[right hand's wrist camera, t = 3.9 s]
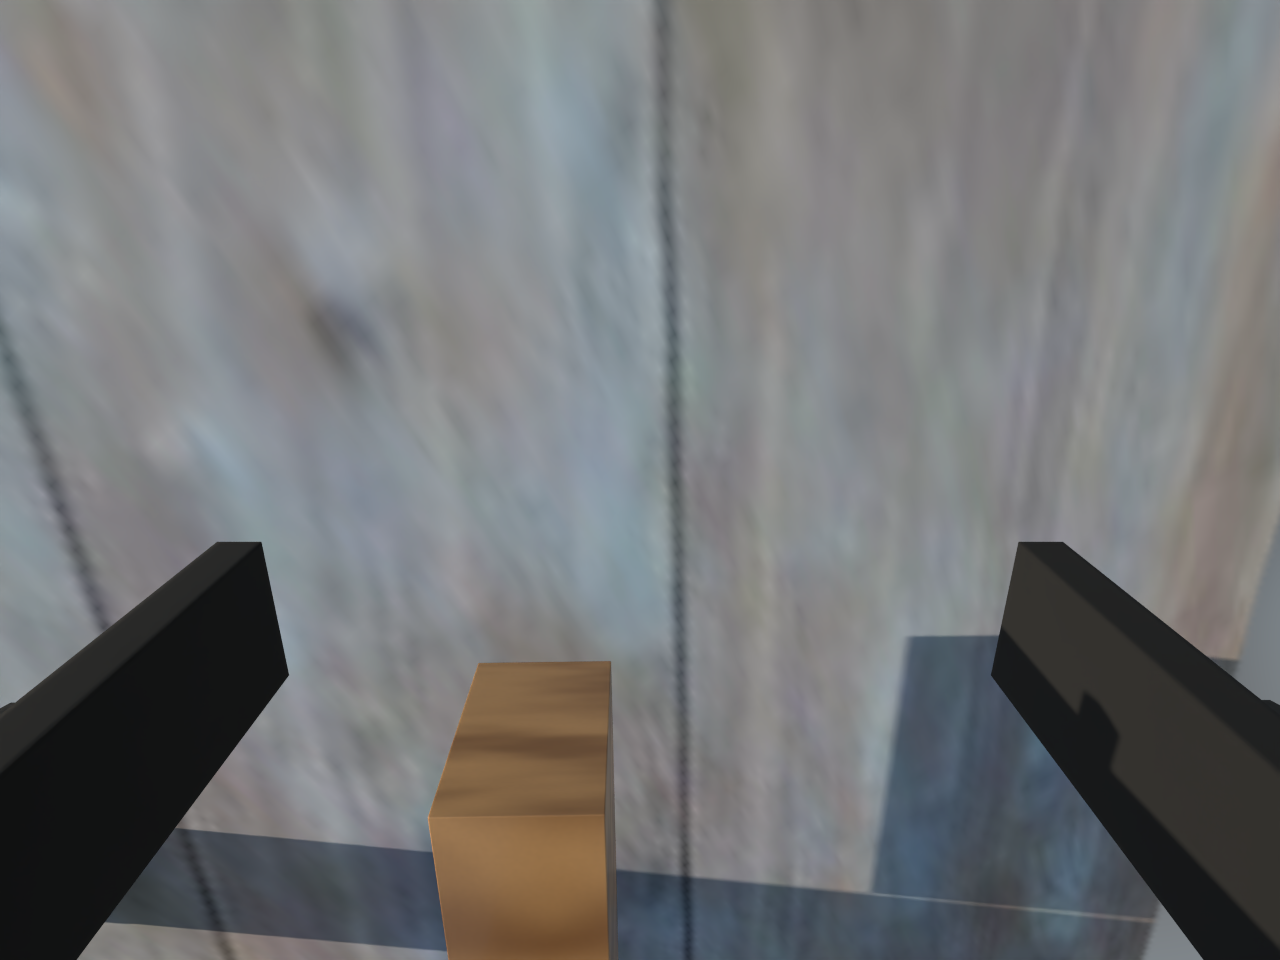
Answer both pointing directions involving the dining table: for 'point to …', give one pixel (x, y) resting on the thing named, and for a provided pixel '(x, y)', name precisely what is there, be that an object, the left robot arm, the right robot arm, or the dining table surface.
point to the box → (529, 816)
